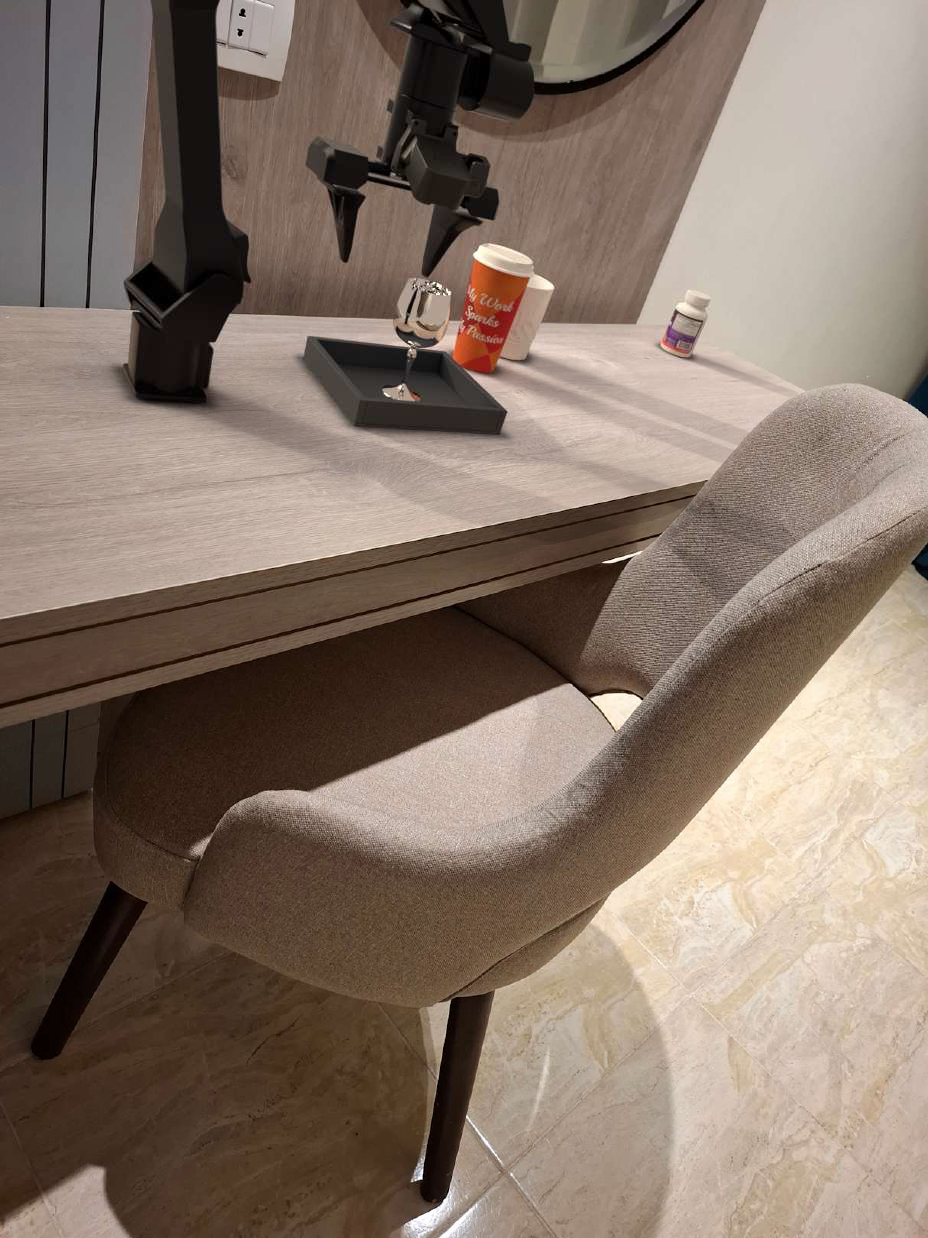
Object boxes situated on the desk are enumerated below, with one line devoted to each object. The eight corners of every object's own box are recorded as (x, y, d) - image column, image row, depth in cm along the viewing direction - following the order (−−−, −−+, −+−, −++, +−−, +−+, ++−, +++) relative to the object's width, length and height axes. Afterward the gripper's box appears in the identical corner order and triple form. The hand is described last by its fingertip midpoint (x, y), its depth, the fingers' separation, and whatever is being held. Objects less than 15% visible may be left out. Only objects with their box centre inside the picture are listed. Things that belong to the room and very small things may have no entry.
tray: (354, 425, 90) (360, 399, 89) (302, 359, 100) (307, 335, 99) (500, 434, 99) (508, 411, 98) (439, 372, 110) (445, 350, 108)
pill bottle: (667, 343, 154) (691, 286, 149) (694, 356, 152) (719, 299, 147) (654, 346, 150) (678, 288, 145) (682, 359, 148) (708, 301, 143)
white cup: (526, 367, 121) (551, 294, 115) (470, 347, 121) (493, 273, 115) (533, 352, 127) (557, 281, 122) (480, 333, 128) (502, 262, 122)
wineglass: (407, 410, 96) (437, 299, 90) (365, 387, 98) (391, 277, 92) (436, 400, 101) (466, 295, 94) (395, 379, 103) (422, 274, 96)
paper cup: (435, 357, 114) (467, 244, 106) (457, 346, 120) (489, 238, 112) (491, 382, 112) (527, 269, 105) (510, 368, 119) (546, 261, 111)
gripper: (367, 93, 73) (326, 284, 82) (551, 146, 83) (498, 311, 91) (321, 65, 81) (288, 242, 89) (495, 117, 90) (450, 272, 99)
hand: (385, 268), depth 92 cm, fingers open, 9 cm apart
